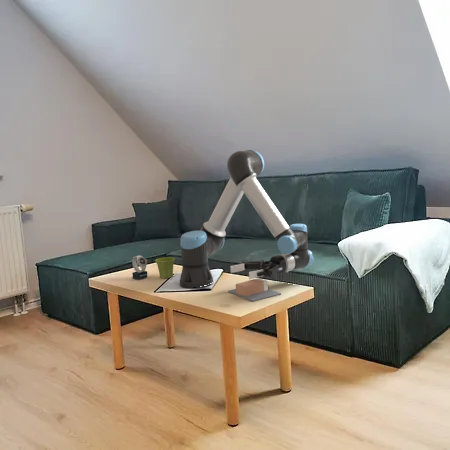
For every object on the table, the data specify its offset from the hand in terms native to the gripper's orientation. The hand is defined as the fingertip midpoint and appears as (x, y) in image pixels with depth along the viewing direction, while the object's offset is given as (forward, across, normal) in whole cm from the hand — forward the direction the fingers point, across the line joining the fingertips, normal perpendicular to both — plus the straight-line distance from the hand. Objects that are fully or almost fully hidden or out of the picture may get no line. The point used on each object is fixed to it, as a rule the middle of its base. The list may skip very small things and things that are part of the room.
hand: (239, 272), depth 202 cm
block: (0, 0, -7) cm, 7 cm away
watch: (+20, +58, -10) cm, 62 cm away
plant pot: (+10, +51, -10) cm, 53 cm away
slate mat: (-6, 0, -10) cm, 12 cm away
